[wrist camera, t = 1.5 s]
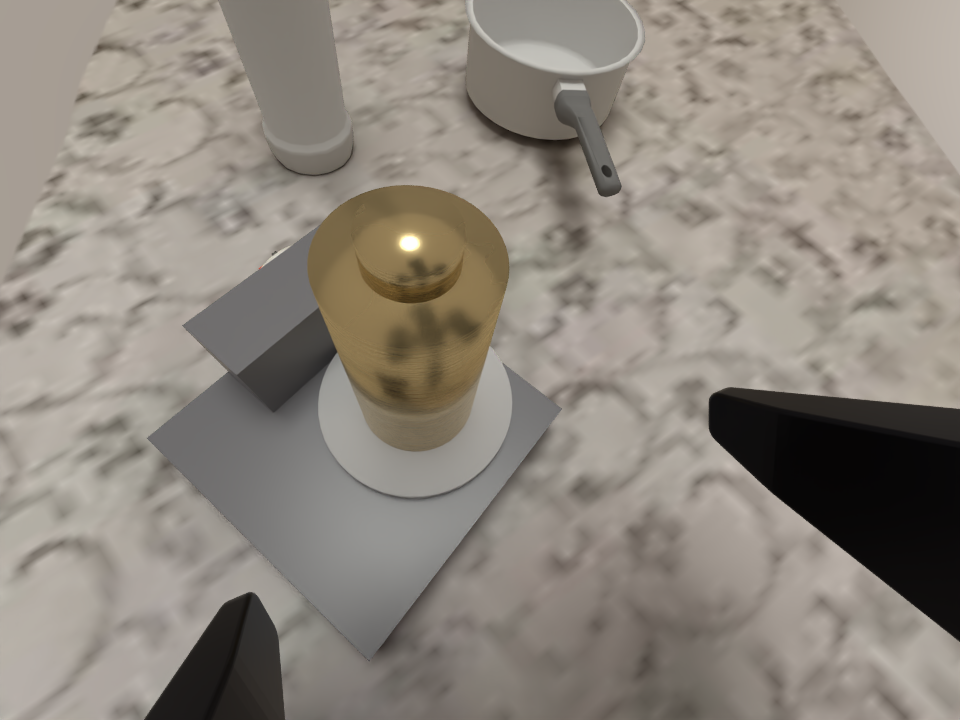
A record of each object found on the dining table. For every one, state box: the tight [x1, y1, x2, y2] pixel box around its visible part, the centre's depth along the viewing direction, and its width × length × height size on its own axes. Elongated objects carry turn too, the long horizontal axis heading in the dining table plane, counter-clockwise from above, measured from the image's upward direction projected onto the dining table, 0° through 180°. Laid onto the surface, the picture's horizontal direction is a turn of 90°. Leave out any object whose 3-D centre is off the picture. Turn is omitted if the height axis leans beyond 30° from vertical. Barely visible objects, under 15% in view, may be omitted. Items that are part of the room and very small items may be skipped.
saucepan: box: [465, 0, 645, 197], centre depth 29 cm, size 12×20×6 cm, turn 7°
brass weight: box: [307, 185, 509, 452], centre depth 14 cm, size 5×5×10 cm
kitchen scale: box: [147, 225, 562, 661], centre depth 18 cm, size 12×12×6 cm
